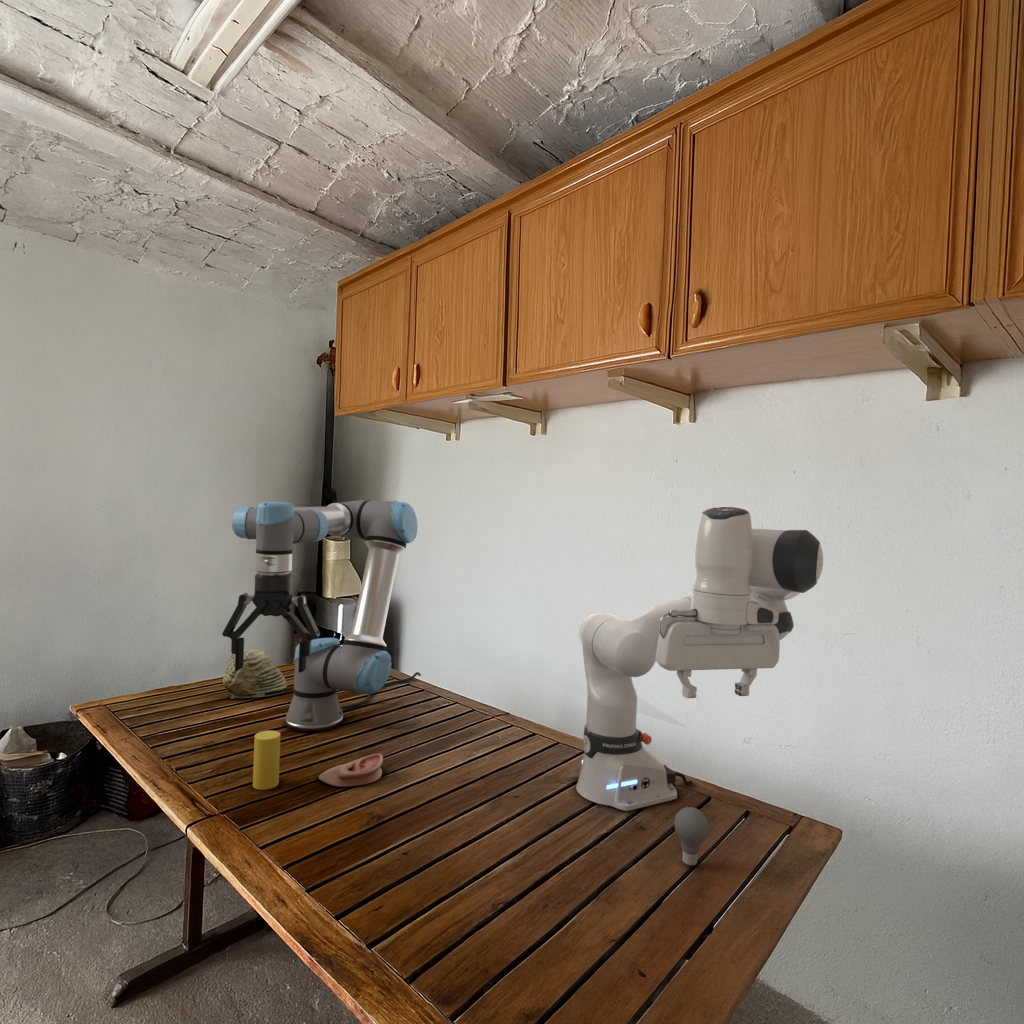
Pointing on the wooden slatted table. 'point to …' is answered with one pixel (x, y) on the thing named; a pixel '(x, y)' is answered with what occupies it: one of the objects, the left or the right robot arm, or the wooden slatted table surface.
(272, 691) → the fossil
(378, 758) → the anatomical model
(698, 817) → the light bulb
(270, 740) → the cylinder
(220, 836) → the wooden slatted table surface
